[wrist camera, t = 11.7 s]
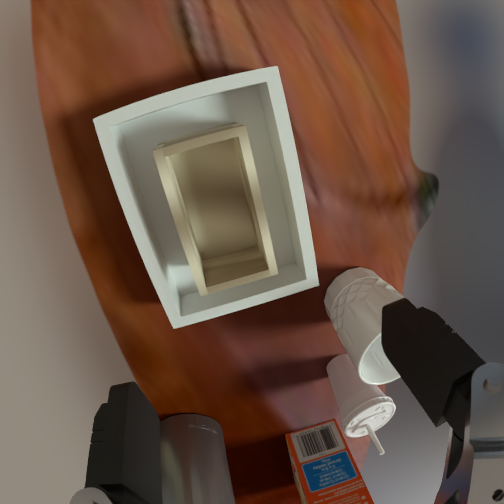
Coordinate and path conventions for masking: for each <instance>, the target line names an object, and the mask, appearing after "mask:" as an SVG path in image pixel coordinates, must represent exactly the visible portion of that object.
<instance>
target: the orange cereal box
mask: <svg viewBox="0 0 504 504" xmlns="http://www.w3.org/2000/svg"><path fill="white" fill-rule="evenodd" d="M285 436H286V441H287V446H288V450H289V455H290V460H291V465H292V469H293V474H294V479H295V483H296V486H297V490H298V493H299V496H300V499H301V502H302V504H374V502H373V500H372V498H371V496H370V494H369V491H368V489H367V487H366V485H365V483H364V481H363V479H362V476H361V474H360V472H359V470H358V468H357V465H356V463H355V461H354V459H353V457H352V455H351V452H350V450H349V448H348V446H347V444H346V442H345V439H344V437H343V435H342V433H341V431H340V429H339V426H338V424H337V422H336V420H335V419H332V420H330V421H327V422H324V423H321V424H317V425H314V426H311V427H308V428H305V429H301V430H298V431H295V432H291V433H288V434H285Z"/></svg>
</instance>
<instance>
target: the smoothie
mask: <svg viewBox="0 0 504 504" xmlns="http://www.w3.org/2000/svg"><path fill="white" fill-rule="evenodd" d="M326 370H327V373H328V377H329V380H330V383H331V386H332V389H333V392H334V395H335V399H336V402H337V405H338V408H339V411H340V415H341V418H342V421H343V422H342V429H343V430H344V432H345V434H346V435H347V436H349V437H361V436H364V435H367V434H369V435H370V437H371V439H372V440H373V442H374V444H375V446H376V448H377V450H378V452H379V454H380V455H382V454H384V453H385V452H384V450H383V448H382V446H381V445H380V442H379V441H378V439H377V437H376V435H375V433H374V431H376V430H377V429H379V428H380V427H382V426H383V425H384V424H386V423H387V422H388V421H389V420H390V419H391V417H392V416H393V414H394V412H395V409H396V407H395V404H394V403H393V400H392V399H391V398H390V397H387V396H385V395H384V394H383V392H382V391H381V390H380V389H379V388H378V387H377V385H371V384H367V383H365V382H363V381H362V380H361V379H360V377H359V375H358V373H357V371H356V369H355V367H354V365H353V364H352V362H351V360H350V358H349V356H348V354H341V355H338V356H336V357H335V358H333V359H332V360H331V361H330V362H329V363H328V365H327V367H326Z"/></svg>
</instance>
